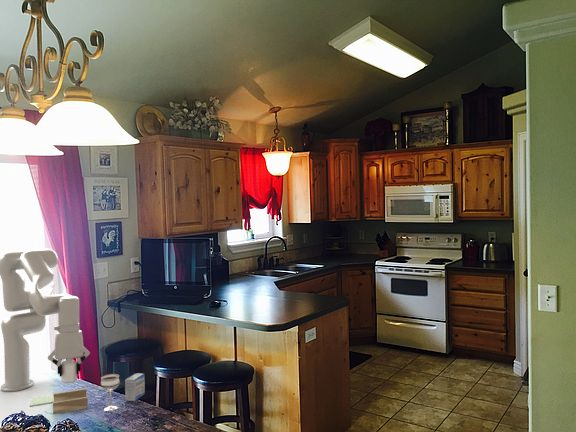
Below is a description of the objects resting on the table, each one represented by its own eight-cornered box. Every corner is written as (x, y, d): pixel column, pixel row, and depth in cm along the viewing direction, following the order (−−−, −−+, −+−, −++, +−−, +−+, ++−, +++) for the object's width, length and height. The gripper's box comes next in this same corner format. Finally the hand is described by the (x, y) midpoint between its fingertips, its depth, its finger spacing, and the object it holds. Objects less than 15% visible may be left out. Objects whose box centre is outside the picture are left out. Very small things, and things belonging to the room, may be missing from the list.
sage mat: (31, 399, 193) (31, 397, 193) (55, 395, 197) (55, 393, 197) (29, 406, 185) (29, 405, 185) (55, 402, 189) (55, 401, 189)
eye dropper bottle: (67, 384, 182) (67, 353, 182) (59, 381, 185) (59, 351, 185) (78, 381, 186) (78, 351, 186) (70, 378, 189) (70, 348, 189)
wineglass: (123, 406, 183) (123, 375, 183) (108, 413, 177) (108, 381, 177) (112, 403, 187) (111, 373, 187) (97, 409, 181) (96, 378, 181)
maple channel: (53, 403, 188) (53, 393, 188) (86, 398, 193) (86, 388, 193) (53, 414, 178) (52, 403, 178) (87, 408, 183) (87, 397, 183)
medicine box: (135, 401, 188) (134, 379, 188) (125, 400, 189) (124, 379, 189) (145, 394, 196) (144, 373, 196) (135, 393, 197) (134, 372, 197)
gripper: (44, 332, 178) (44, 380, 179) (93, 328, 186) (93, 374, 186) (44, 328, 185) (45, 374, 185) (92, 324, 192) (92, 368, 193)
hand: (69, 373), depth 186 cm, fingers closed on eye dropper bottle, 5 cm apart
